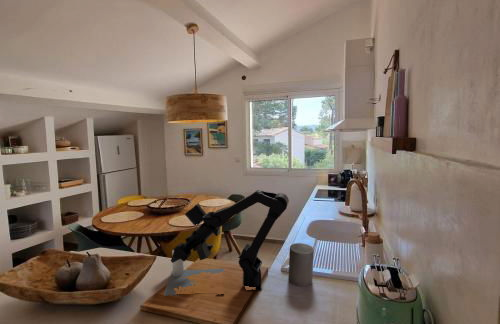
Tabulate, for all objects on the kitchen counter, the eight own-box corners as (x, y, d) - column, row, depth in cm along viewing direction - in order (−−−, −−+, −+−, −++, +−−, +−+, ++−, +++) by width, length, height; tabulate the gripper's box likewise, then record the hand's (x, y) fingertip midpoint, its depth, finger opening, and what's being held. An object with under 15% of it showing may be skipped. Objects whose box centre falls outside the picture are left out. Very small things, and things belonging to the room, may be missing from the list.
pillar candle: (283, 277, 114) (284, 242, 112) (302, 271, 118) (303, 238, 117) (298, 289, 105) (299, 252, 104) (317, 283, 110) (319, 247, 108)
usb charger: (185, 271, 115) (185, 245, 114) (180, 277, 111) (180, 250, 110) (175, 270, 116) (175, 244, 115) (170, 275, 112) (170, 249, 111)
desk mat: (224, 270, 119) (224, 268, 119) (224, 294, 101) (224, 292, 101) (172, 272, 116) (172, 270, 116) (162, 297, 99) (162, 295, 99)
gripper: (207, 259, 100) (179, 283, 103) (223, 239, 118) (199, 261, 121) (187, 236, 101) (160, 261, 104) (205, 220, 119) (182, 242, 122)
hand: (177, 256), depth 113 cm, fingers open, 9 cm apart
